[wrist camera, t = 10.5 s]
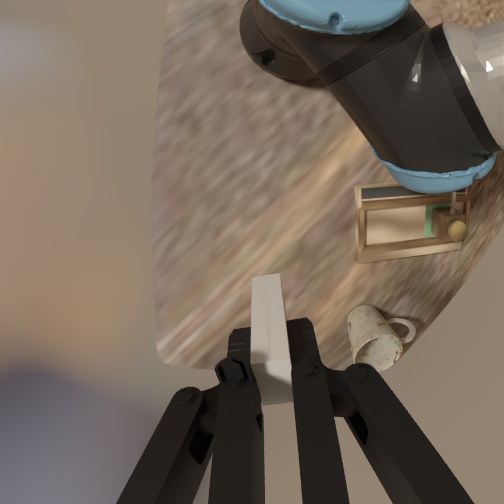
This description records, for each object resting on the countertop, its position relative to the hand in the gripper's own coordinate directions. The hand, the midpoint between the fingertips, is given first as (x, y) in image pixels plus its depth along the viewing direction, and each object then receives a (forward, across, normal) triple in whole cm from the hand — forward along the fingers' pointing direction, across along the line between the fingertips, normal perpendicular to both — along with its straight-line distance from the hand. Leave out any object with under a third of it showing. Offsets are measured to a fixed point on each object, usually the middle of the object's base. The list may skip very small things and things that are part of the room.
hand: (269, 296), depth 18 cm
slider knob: (+27, +28, -8) cm, 40 cm away
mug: (+29, +16, -27) cm, 43 cm away
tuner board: (+29, +23, -10) cm, 38 cm away
